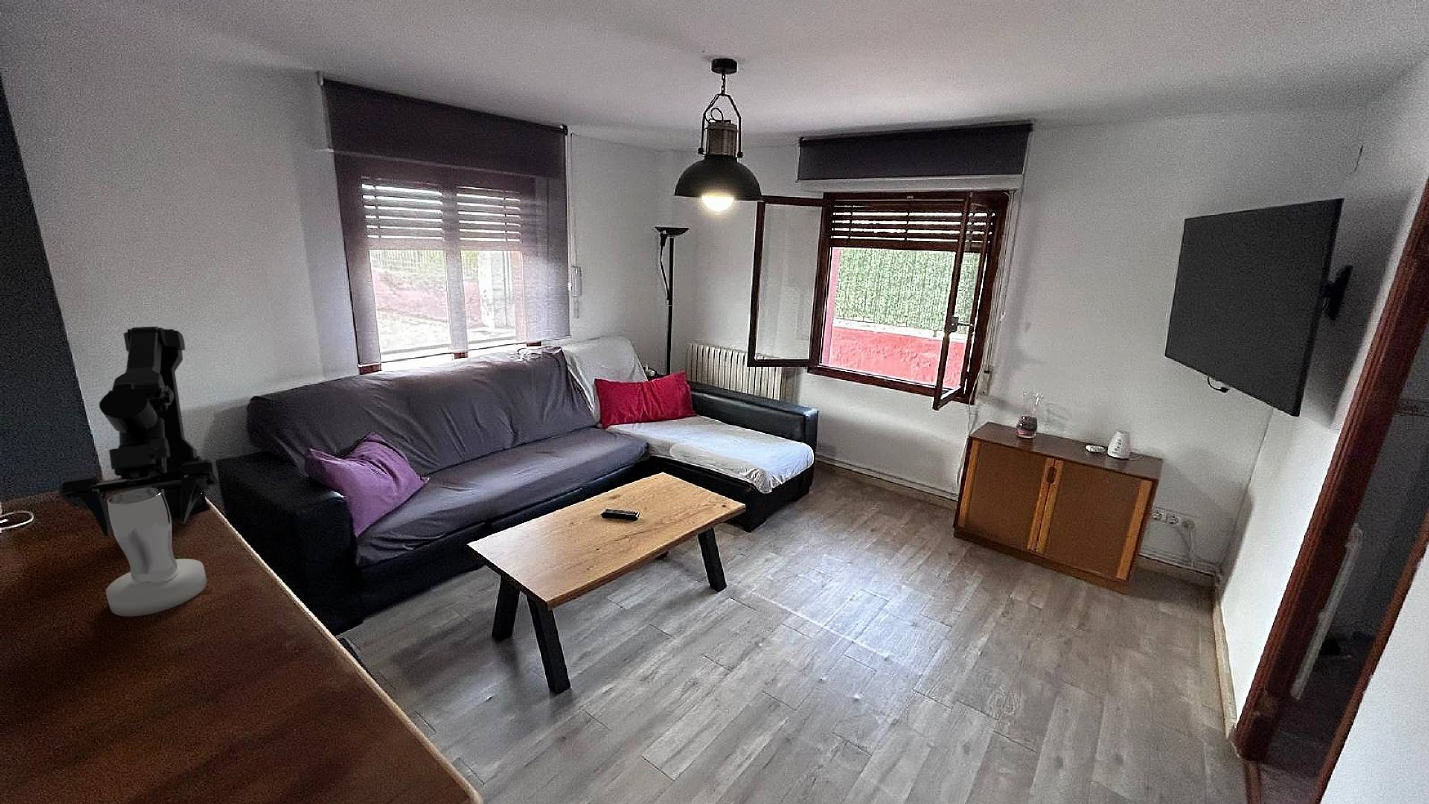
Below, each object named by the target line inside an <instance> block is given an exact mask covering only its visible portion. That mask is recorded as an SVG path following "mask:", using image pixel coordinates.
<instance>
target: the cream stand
mask: <svg viewBox="0 0 1429 804" xmlns="http://www.w3.org/2000/svg"><path fill="white" fill-rule="evenodd" d="M175 560H176V562H177V563H178V565H179V567H180V572H179V574H178V575H177V576H175V577H174V578H172V579H170V580H168V581H166V582H164V583H161V584H157V585H154V586H148V587H136V586H133V585H132V584H131V571H129V572H127V573H125V574H123V575H121V576H120V577H118V578H116V579H115V580H114V581H112V582H111V583H110V584H109V585H108V587H107V588H106V590H105V595H106V597H107V602H108V605H109V608H110V611H111V613H113V614H114V615H116V616H121V617H138V616H146V615H152V614H155V613H159V612H160V613H161V612H163V611H166V610H168V609H171V608H174V607H177V606H179V605H182V604H184V603H185V602H188V601H189V600H192V599H193V598H194V597H196V596H198V595H199V594H200V593H201V592H202V591H203V590H204V589H205V588H206V586H207V583H208V579H207V575H206V570H205V567H204V564H203V563H202V561H200V560H198V559H193V558H192V559H191V558H177V559H176V558H175Z"/></svg>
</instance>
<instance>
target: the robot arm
mask: <svg viewBox="0 0 1429 804" xmlns="http://www.w3.org/2000/svg"><path fill="white" fill-rule="evenodd" d="M123 338H124V339H123V340H124V344H125V351H126V352H127V361H126V367H125V368H126V369H125V372H124V373H122V374H120V375H119V376H118V377H115V379H114V382H113V385H112V387H111V390H110V389H109V390H108V392H107V393H106V394H105V395H104V396H103V397H102V398H101V400H100V401H99V404H98V406H99V409H100V411H101V412H102V414H103V415H104V417H105V418H106V420H107V421H108V422H109V424H110V425H111V426H112V427H113V429H114V430H115V431H117V432H118V434H119V435H118V436H119V437H118V438H119V443H118V444H119V445H118V447H117V448H111V449H109V450H108V451H109V452H108V453H109V460H110V467H111V470H113V471H114V475H116V477H119V476H120V477H119V479H115V480H107V481H100V479H98V478H97V476H95V475H89V476H79V477H73V478H66V479H64V480H63V481H62V482H61V483H60V484H59V486H58V490H59V491H58V495H59V497H60V498H62V499H63V500H64V501H65V503H67V504H69V506H70V507H72V508H73V507H74V508H79V507H80V508H81V510H83V511H87V510H89V511H90V512H91V513H92V515H93V517H94V518H95V520H96V522H97V524H98V526H99V528H100V530H101V531H102V533H103V535H104V537H105V538H110V537H111V533H112V527H111V524H110V519H109V513H108V506H107V502H106V501H107V500H106V498H107V494H111V493H117V492H124V491H128V490H132V489H137V488H144V487H157V488H161V489H162V490H163V494H164V497H165V499H166V502H167V505H168V508H169V511H170V516H171V519H177V518H180V522H181V524H186V523H187V520H188V519H189V516H190V515H191V514H195V513H198V512H202V511H205V510H208V509H210V508H212V507H211V505H210V504H209V503H208V502H207V497H206V492H205V491H209V490H210V486H216V485H218V484H219V473H218V470H217V468H216V467H215V464H214V462H213V461H211V460H210V459H203V458H202V456H201V455H198V451H197V449H196V448H195V447H194V446H193V445H192V444H191V443H190V442H189V441H188V440H187V439H186V437H185V436H186V435H185V431H184V426H183V425H184V424H183V417H182V416H183V415H182V410H181V405H180V399H179V398H180V397H179V391H178V384H177V377H176V371H177V369H178V368H179V366H180V364H181V363H182V361H183V351H185V350H186V345H185V339H184V335H183V334H182V333H181V332H180V331H178V330H175V329H174V328H164V327H159V326H155V325H154V326H137V327H136V326H135V327H131V328H128V329H127V331H125V332H123ZM201 493H202V494H201ZM205 498H206V499H205Z"/></svg>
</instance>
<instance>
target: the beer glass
mask: <svg viewBox="0 0 1429 804" xmlns="http://www.w3.org/2000/svg"><path fill="white" fill-rule="evenodd" d="M105 501H106V502H107V506H108V513H109V519H110V525H111V531H112V533H113V535H114V537H115V539H116V541H117V544H119V547H120V549H121V550H122V552H123V553H124V555H125V557H126V559H127V562H128V563H129V566H130V568H129V569H130V572H131V584H132V585H133V586H136V587H148V586H154V585H157V584H161V583H164V582H166V581H168V580H170V579H172V578H174V577H175V576H177V575H178V574H179V572H180V567H179V565H178V563H177V562H176V560H175V559H176V558H175V556H174V552H173V544H172V543H173V541H172V540H173V537H172V536H173V534H172V531H173V525H172V523H173V522H172V518H171V516H170V511H169V508H168V505H167V502H166V499H165V497H164V494H163V490H162V489H161V488H157V487H151V486H150V487H144V488H137V489H131V490H124V491H120V492H119V493H116V494H113V495H111V496H110V497H109V498H107V500H105Z"/></svg>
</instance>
